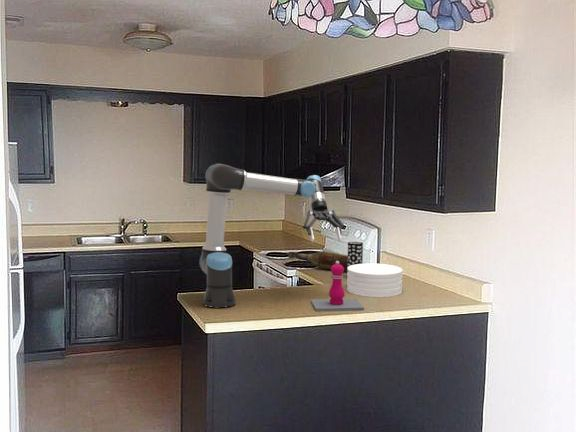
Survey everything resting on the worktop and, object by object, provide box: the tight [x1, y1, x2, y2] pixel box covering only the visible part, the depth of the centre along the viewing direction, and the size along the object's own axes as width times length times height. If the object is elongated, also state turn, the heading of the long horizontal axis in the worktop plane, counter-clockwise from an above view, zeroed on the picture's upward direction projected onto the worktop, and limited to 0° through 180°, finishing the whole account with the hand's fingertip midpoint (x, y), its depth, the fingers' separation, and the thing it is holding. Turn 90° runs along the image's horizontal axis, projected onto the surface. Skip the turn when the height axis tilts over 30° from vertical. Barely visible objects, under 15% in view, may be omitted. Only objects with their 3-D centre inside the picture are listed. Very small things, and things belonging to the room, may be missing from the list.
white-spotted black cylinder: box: [346, 241, 364, 277], centre depth 339 cm, size 8×8×20 cm
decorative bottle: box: [287, 250, 348, 273], centre depth 366 cm, size 11×11×45 cm
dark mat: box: [310, 298, 365, 312], centre depth 282 cm, size 22×16×1 cm
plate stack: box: [346, 262, 404, 298], centre depth 313 cm, size 28×28×12 cm
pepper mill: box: [328, 261, 346, 305], centre depth 281 cm, size 7×7×20 cm
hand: (326, 240), depth 290 cm, fingers open, 13 cm apart
